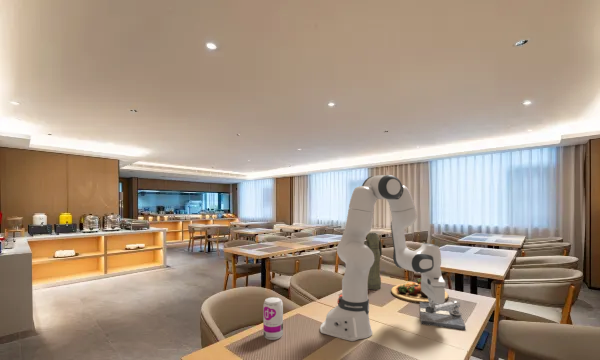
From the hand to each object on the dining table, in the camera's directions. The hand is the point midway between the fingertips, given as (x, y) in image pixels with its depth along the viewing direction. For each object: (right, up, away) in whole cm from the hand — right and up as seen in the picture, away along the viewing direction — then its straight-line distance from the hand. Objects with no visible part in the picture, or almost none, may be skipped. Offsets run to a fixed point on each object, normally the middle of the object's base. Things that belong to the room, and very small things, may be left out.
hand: (432, 307), depth 139 cm
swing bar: (+5, 0, 0) cm, 5 cm away
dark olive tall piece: (-15, -9, +50) cm, 53 cm away
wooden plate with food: (+9, -9, +36) cm, 38 cm away
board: (+6, -6, +5) cm, 10 cm away
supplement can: (-74, -6, -15) cm, 76 cm away
